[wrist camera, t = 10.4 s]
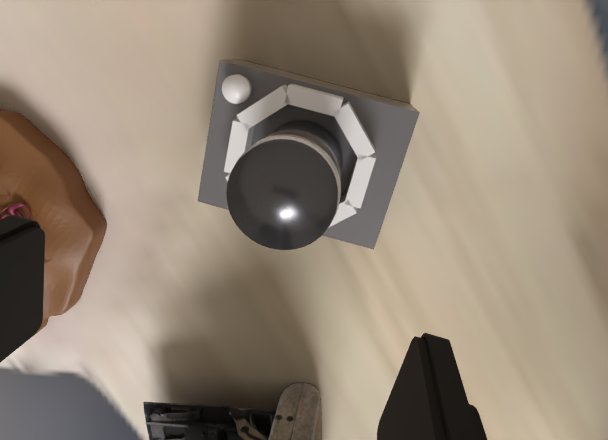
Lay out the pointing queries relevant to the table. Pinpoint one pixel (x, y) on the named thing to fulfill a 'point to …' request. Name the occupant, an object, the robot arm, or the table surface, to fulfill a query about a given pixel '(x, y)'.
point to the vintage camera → (239, 419)
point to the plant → (50, 208)
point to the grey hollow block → (325, 111)
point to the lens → (287, 186)
